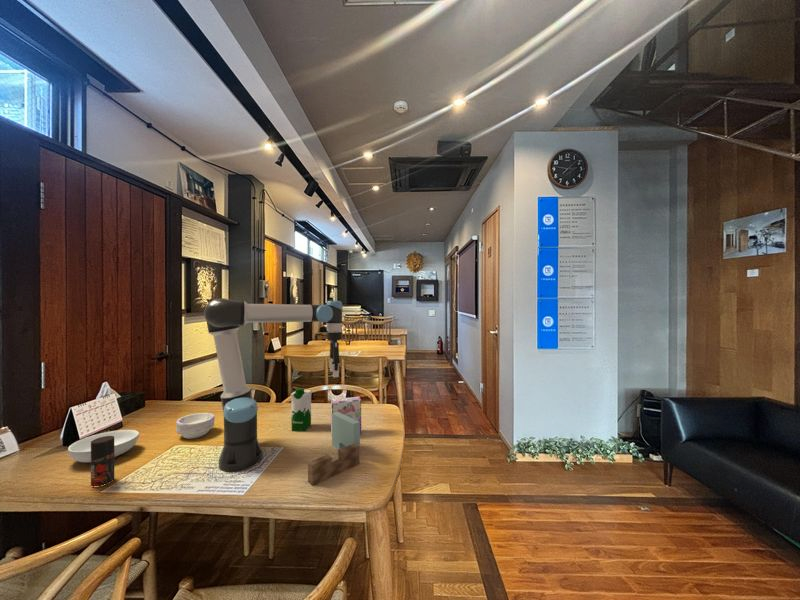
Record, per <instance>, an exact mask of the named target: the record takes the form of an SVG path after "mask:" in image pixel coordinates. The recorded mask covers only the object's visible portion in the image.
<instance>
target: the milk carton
mask: <svg viewBox="0 0 800 600" xmlns="http://www.w3.org/2000/svg"><path fill="white" fill-rule="evenodd" d="M312 393H313V392H312V390H310V389H305V388H303V387H297V388H296V389H295V391H293V392H291V394H290V401H291V402H290V403H291V404H290V405H291V409H290V410H291V415H290V416H291V417H290V418H291V431H292V432H307V430H308V429H309V428H310V427H311V426H312Z"/></svg>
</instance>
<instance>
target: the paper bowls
mask: <svg viewBox="0 0 800 600" xmlns="http://www.w3.org/2000/svg"><path fill="white" fill-rule="evenodd" d="M175 422H176V423H175V425H176V426H175V431H176V433H177V434H178V435H181V437H182V438H185V439H188V440H189V439H197V438H200V437H203V436H205V435H208V433H209V432H210V430H211V429H212V428H213V427H215V415H214V414H213V413H210V412H198V413H191V414H188V415H185V416H182V417H180V418H178V419H177V420H176V421H175Z"/></svg>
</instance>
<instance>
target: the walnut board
mask: <svg viewBox="0 0 800 600" xmlns="http://www.w3.org/2000/svg"><path fill="white" fill-rule="evenodd" d="M360 456H361V445H360V446H359V445H357V444H356V443H354V444H352V445H349V446H347V447H346V446H345V447H344V448H342V449H339V450H338V449H337V459H336V460H335V459H334V460H333V457H332V456H331V455H330V454H324V455H322V456H319V457H317V458H315V459H312V460H309V461H308V462H307V482H308V483H309V484H310V485H311V486H316V485H318V484H319V483H322V482H323V481H326V480H328V479H330V478H332V477H334V476H336V475H339V474H341V473H343V472H345V471H348V470H349V469H352V468H354V467H356V466H359V465H360V464H361V463H360V462H361V461H360V460H361V459H360Z"/></svg>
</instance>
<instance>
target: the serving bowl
mask: <svg viewBox="0 0 800 600" xmlns="http://www.w3.org/2000/svg"><path fill="white" fill-rule="evenodd" d="M104 436H114V458H116V457H118V456H120V455H123V454H124V453H127V452H128V451H129V450H131V449H132V448H133V447H134V446H135V445H136V443H137V442H138V439H139V436H140V432H139V431H138V430H135V429H119V430H118V429H117V430H112V431H105V432H101V433H96V434H93V435H90V436H87V437H84V438H82V439H79V440H77V441H75V442H73V443H71V444H70V445H69V446H68V449H67V452H68V454H69V457H70V458H71V459H72V460H73V461H76V462H78V463H91V441H93V440H94V439H97V438H100V437H104Z"/></svg>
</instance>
